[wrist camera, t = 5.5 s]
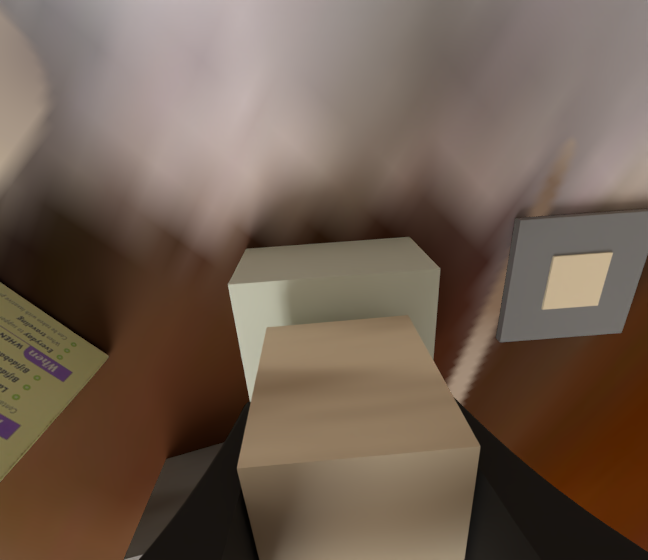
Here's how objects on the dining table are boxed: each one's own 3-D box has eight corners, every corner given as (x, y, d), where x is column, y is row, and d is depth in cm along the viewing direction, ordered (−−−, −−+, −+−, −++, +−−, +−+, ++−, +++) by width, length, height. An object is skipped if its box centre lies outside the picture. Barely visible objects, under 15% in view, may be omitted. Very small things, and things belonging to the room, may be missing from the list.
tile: (614, 328, 17) (623, 333, 17) (495, 337, 17) (501, 343, 17) (653, 208, 15) (664, 210, 14) (515, 218, 15) (522, 220, 14)
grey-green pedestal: (402, 366, 18) (428, 427, 14) (267, 377, 18) (257, 441, 14) (407, 235, 15) (440, 268, 11) (247, 246, 15) (227, 284, 11)
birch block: (405, 422, 13) (460, 585, 8) (283, 433, 13) (270, 603, 8) (408, 314, 11) (480, 446, 6) (266, 327, 11) (236, 468, 6)
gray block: (271, 488, 21) (261, 589, 16) (202, 506, 21) (174, 611, 17) (241, 436, 19) (220, 533, 14) (166, 458, 19) (123, 559, 15)
